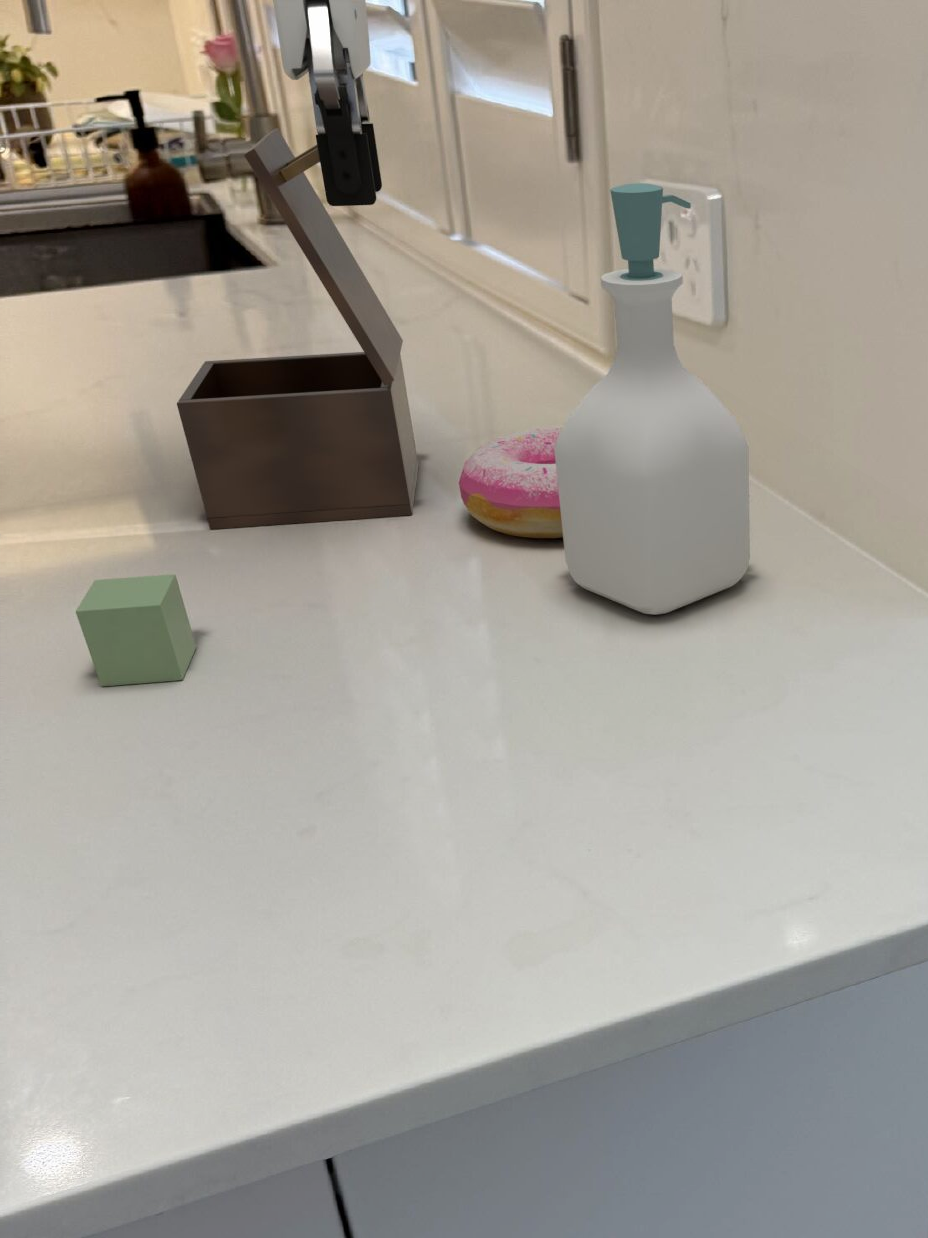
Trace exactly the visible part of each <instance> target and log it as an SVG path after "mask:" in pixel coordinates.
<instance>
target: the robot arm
mask: <svg viewBox="0 0 928 1238" xmlns="http://www.w3.org/2000/svg"><path fill="white" fill-rule="evenodd" d="M366 2H367V1H366V0H272V4H273V10H274V16H275V21H276V22H275V23H276V29H277V36H278V43H279V50H280V58H281V63H282V64H281V65H282V69H283V73H284V74H285V75H286V76H287V77H288V78H289V79H290V80H292V81H297V80H300V79H301V78H303V77H304V76H305V75H307V74H308V78H309V79H308V81H309V86H310V93H311V101H312V106H313V114H314V122H315V129H316V133H317V134H315V140H316V145H317V147H318V153H319V158H320V162H319V164H320V170H321V176H322V181H323V188H324V192H325V199H326V202H327V204H328V205H329V206H331V207H346V206H347V207H353V206H354V207H356V206H357V207H358V206H373V205H374V204H376V201H377V193H379V192H380V191H381V190H382V187H383V182H382V176H381V169H380V162H379V155H378V148H377V141H376V134H375V128H374V123H373V122H372V123H371V119H370V111H369V104H368V99H367V93H366V88H365V87H366V86H365V81H364V76H363V74H364V72H365V71H367V70H368V69H369V67H370V66H371V46H370V35H369V23H368V22H369V21H368V12H367V3H366Z"/></svg>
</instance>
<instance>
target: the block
mask: <svg viewBox="0 0 928 1238" xmlns="http://www.w3.org/2000/svg"><path fill="white" fill-rule="evenodd" d="M182 595H183V594H182V593H181V589H180V585H179V582H178V578H177V575H176V574H175V573H171V574H160V575H146V576H133V577H131V576H130V577H119V578H104V579H94V581H92V584H91V586H89V588H88V590H87V592H86V593H85V595H84V596H83V599H82V600H81V602H80V604H79V605H78V607H77V608H76V610H75V614H76V617H77V620H78V623H79V627H80V629H81V632H82V636H83V638H84V640H85V643H86V646H87V649H88V653H89V655H90V658H91V661H92V664H93V666H94V670H95V672H96V675H97V679H98V681H99V684H100V687H113V686H126V685H127V686H128V685H135V684H136V685H138V684H151V683H163V682H176V681H183V680H184V678H185V675H186V673H187V671H188V668H189V667H190V664H191V661H192V659H193V657H194V654H195V652H196V649H197V644H196V640H195V637H194V634H193V630H192V627H191V623H190V620H189V616H188V614H187V610H186V605H185V603H184V599H183V596H182Z"/></svg>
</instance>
